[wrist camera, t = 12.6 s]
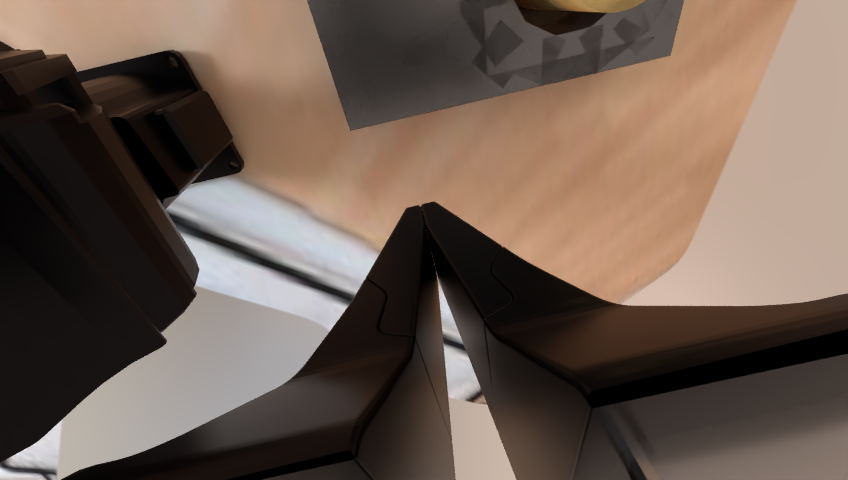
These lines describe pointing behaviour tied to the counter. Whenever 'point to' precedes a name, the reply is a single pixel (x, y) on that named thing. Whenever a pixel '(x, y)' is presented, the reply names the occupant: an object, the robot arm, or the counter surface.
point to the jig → (472, 50)
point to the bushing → (580, 5)
